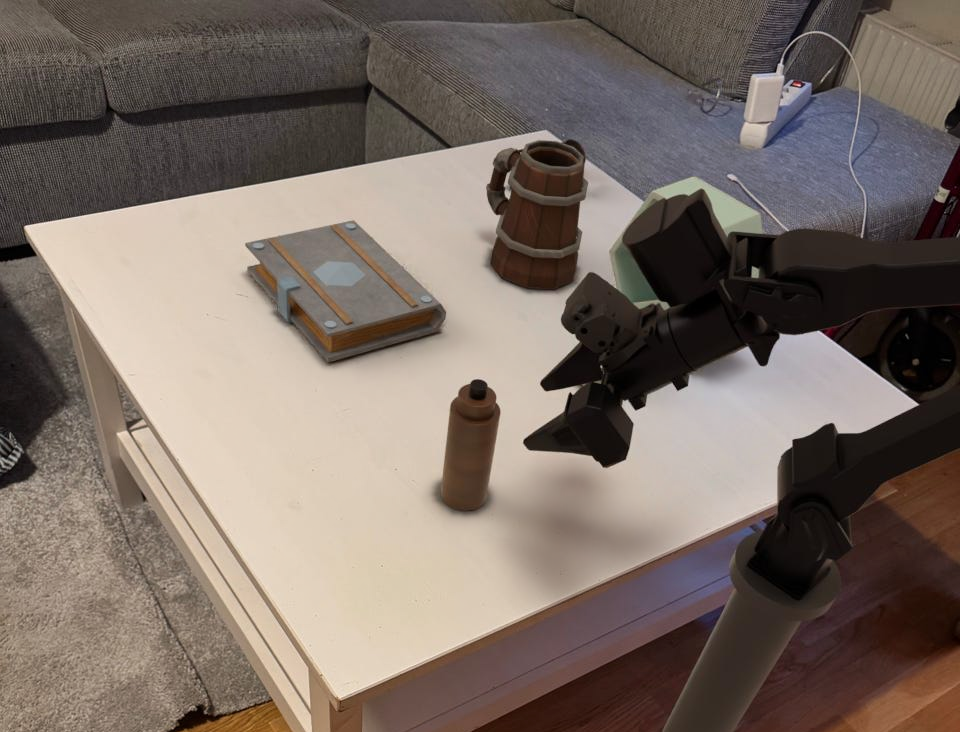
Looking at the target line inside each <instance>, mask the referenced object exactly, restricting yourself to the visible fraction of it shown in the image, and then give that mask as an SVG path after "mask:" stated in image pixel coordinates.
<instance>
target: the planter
mask: <svg viewBox="0 0 960 732" xmlns="http://www.w3.org/2000/svg"><path fill="white" fill-rule="evenodd" d="M699 189H704V190H705V192H706V193H707V195H708V197H709V199H710V201H711V203H712V208H713V212H714V214H715V216H716V218H717V220H718V221H719V223H720V225H721V227H722V229H723V230H724V232H725V234H726V236H728V234H729V233H730V232H732V231H735V232H747V233H759V234H764V231H763V223H762V215H761V213H760V212H759V211H757V210H756V209H754V208H752V207H750V206H748V205H746V204H745V203H743V202H741V201H739V200H737V199H736V198H734V197H732V196H730V195H729V194H727V193H726V192H724V191H721V190H720V189H719V188H717V187H714V186H713V185H711V184H710V183H707V181H704V180H702V179H701V178H699V177H697V176H693V175H692V176H690V177H687V178H684V179H682V180H679V181H676V182H674V183H670V184H668V185H664V186H661V187H659V188H655V189H653V190H651V192H650V193H649V194H648V196H647V197H646V199H645V200H644V201H643V203H642V204H641V206H640V207H639V208H638V210H637V211H636V212H635V214H634V215H633V217H632V218H631V220H629V223H628V224H627V225H626V226H625V228H624V229H623V231H622V232H621V233H620V235H619V237H618V238H617V239H616V241H615V242H614V243H613V245H612V246H611V248H610V249H609V257H610V258H609V259H610V262H611V268H612V273H613V277H614V283H615V288H616V289H617V290H619V291H620V292H621V293H623V294H624V295H625V296H626V297H628V299H629V300H630V301H631V302H632V303H633V304H634V305H635V306H636V307H638V308H639V309H641V308H644V307H646V306H648V305H650V304H652V303H654V304H655V305H656V304H658V303H660V304H661V306H662V308H663V309H664V310H666V309H668V308H670V307H669V305H668V303H667V302H661V301H660V300H658V298H657V297H656V295H655V294H654V292H653V290H652V289H651V287H650V286H649V284H648V282H647V281H646V279H645V277H644V276H643V274H642V273H641V271H640V269H639V268H638V266H637V265H636V263H635V261H634V260H633V258H632V257H631V255H630V253H629V252H628V250H627V249H626V247H625V245H624V244H623V242H622V237H623V234H624V233H625V231H626V229H627V228H628V227H629V225H630V224H631V223H632V222H633V221H634V220H635V219H636V218H637V217H638V216H639V215H640V214H641V213H642V212H644V211H645V210H646V209H647V208H649V207H650V206H652V205H653V204H654V203H656V202H658V201H659V200H661V199H663V198H665V199H668V198H671V197H673V196H676V195H680V194H686V195H688V196H689V195H691V194H692V193H694V192H696V191H697V190H699ZM752 278H759V269H757V268H755V267H753V266H752Z"/></svg>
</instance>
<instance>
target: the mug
mask: <svg viewBox="0 0 960 732" xmlns="http://www.w3.org/2000/svg"><path fill="white" fill-rule="evenodd" d="M522 149H523V150H522V152H520V151H519V150H520V149H518V148H513V147H508V148H504V149H501V150H500V151H499V152H498V153H497V154H496V156H495V157H494V158H493V161H492V166H493V169H492V172H491V176H490V181H489V183H487V184H486V187H485V188H486V197H487V202H488V204H489V206H490V208H491V210H492V212H493V214H494V215H496V216H499V219H498V221H497V225H496V228H495V234H496V238H495V241H494V244H493V247H492V251H491V255H490V263H489V264H490V265H491V266H492V268H493V269H494V270H495V271H496V272H497V273H498V275H500V277H501V278H502V279H504V280H507V281H508V282H512V283H514V284H517V285H519V286H522V287H524V288H527V289H546V290H547V289H549V290H555V289H559V288H560V287H562V286H565V285H567V284H569V283H571V282H574V279H575V274H576V269H577V265H578V260H579V251H580V248H581V247H580V246H581V243H582V237H583V230H581V229H580V228H579V219H580V209H581V202H583V201H585V200H586V197H587V192H588V187H589V182H588V181H589V180H587V179H586V178H585V177H584V175H585V165H586V161H585V162H584V161H583V158H584V156H583V155H582V154H581V153H579V152H578V151H577V150H576V149H575V148H574V147H572V146H569V145H566V144H563V143H561V142H560V141H558V140H547V139H546V140H544V139H537V140H535V141H531V142H528V143H525V145H524V147H523V148H522ZM508 173H509V174H508ZM507 176H508V179H507ZM506 179H507V185H508V187H509V188H510V187H511V188H512V189H511V188H510V189H511V192H510V195H509V197H507V196H506V186H505V183H506Z"/></svg>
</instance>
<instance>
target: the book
mask: <svg viewBox="0 0 960 732" xmlns="http://www.w3.org/2000/svg"><path fill="white" fill-rule="evenodd" d="M244 245H245V248H246V249H247V250H248V251H249V252H250V253H251V254H252V255H253V256H254V257H255V259H256V260H257V261H258V262H259V263H258V264H254V265H249V266H246V267H247V273H248V274H249V275H251V277H252V278H253V279H254V280H255V281H256V282H257V284H258V285H259V286H260V287H261V288H262V290H263V291H265V293H266V294H267V296H268V297H270V298H271V300H272V301H273V302H274V303H275V304H276V305H277V306H278V307H277V308H278V313H279V314H280V315H281V317H282V318H283V319H284V320H285V321H286V323H288V324H291V323H293V325H294V326H295V327H296V328H297V329H298V330H299V331H300V332H301V333H302V334H303V336H304V337H305V338H306V339H307V340H308V341H309V343H311V345H312V346H313V347H314V348H315V349H316V351H318V353H319V354H320V355H321V356H322V358H324V359H325V361H326V362H328V363H331V362H335V361H339V360H341V359H342V360H343V359H345V358H349V357H352V356H357V355H359V354H364V353H367V352H370V351H373V350H378V349H381V348H384V347H388V346H391V345H395V344H398V343H402V342H405V341H410V340H413V339H416V338H420V337H423V336H427V335H430V334H434V333H436V332H439V331H440V329H441V328H442V327H443V324H444V323H445V321H446V319H447V310H446V308H444V306H443V305H442V303H441V302H440V301H439V300H438V299H437V298H436V297H435V296H434V295H433V294H432V293H430V291H428V289H426V287H424V286H423V285H422V284H421V283H420V282H419V281H418V280H417V279H416V278H415V277H414V276H413V275H412V274H411V273H409V271H408V270H406V269H405V267H404V266H403V265H401V264H400V263H399V262H398V261H397V260H396V259H395V258H394V257H393V256H392V255H391V254H390V253H389V252H388V251H386V249H384V248H383V247H382V246H381V244H379V243H378V241H376V240H375V239H374V238H373V237H372V236H371V235H370V234H369V233H368V232H367V231H366V230H365V229H364V228H362V226H361V225H359V224H358V222H357V221H356V220H354V219H352V220H348V221H343V222H337V223H335V224H329V225H324V226H320V227H315V228H310V229H305V230H300V231H295V232H291V233H287V234H282V235H277V236H272V237H267V238H263V239H258V240H257V239H256V240H253V241H248V242H245V243H244Z"/></svg>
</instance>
